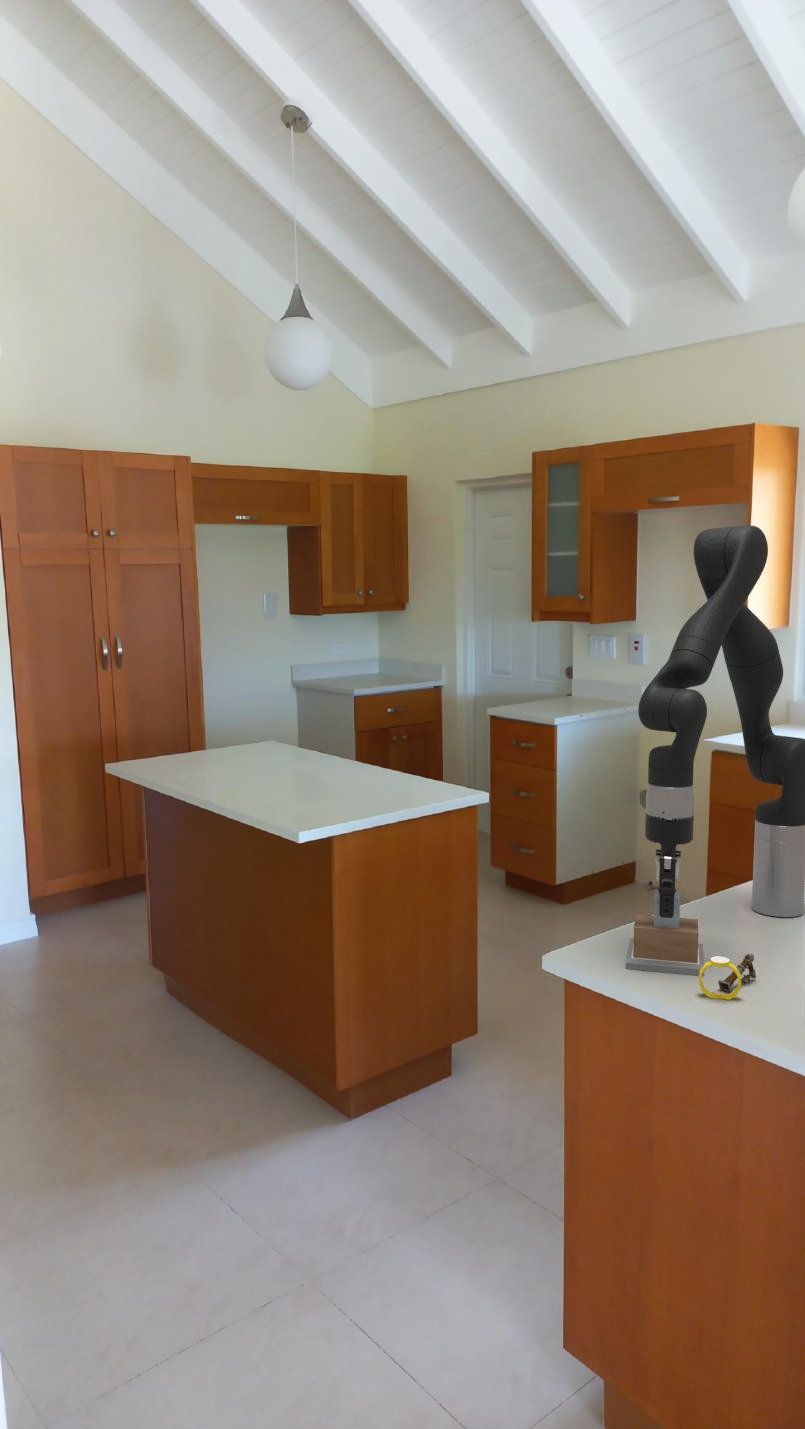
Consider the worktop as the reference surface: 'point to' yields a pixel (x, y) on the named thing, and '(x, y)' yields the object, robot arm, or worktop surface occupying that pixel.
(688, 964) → the build pad
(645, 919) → the walnut block
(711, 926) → the worktop surface
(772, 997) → the worktop surface
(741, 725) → the robot arm
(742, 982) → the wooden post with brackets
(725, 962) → the watch
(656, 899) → the gray block
